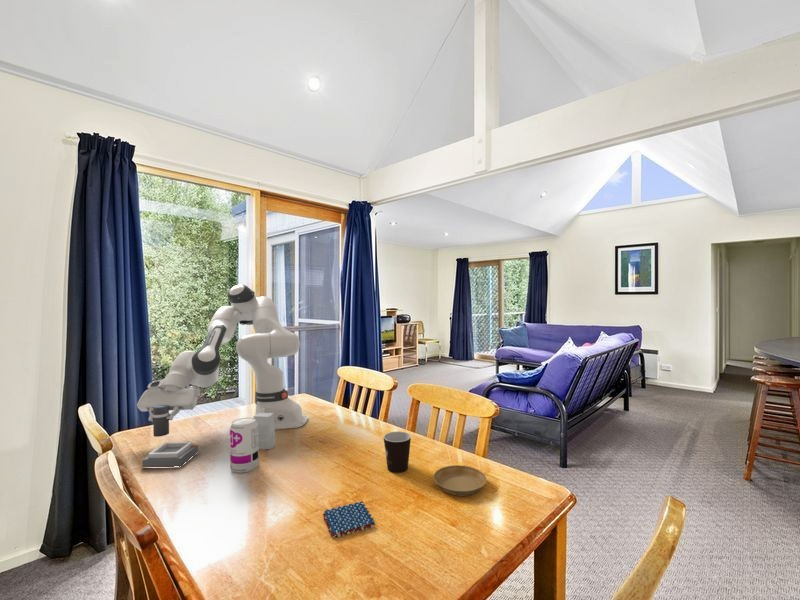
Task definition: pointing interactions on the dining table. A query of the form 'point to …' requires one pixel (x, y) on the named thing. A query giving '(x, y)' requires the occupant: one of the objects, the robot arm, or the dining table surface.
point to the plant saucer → (459, 480)
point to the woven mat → (348, 519)
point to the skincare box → (265, 430)
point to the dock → (170, 454)
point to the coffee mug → (397, 451)
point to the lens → (160, 420)
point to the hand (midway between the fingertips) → (160, 420)
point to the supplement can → (244, 445)
